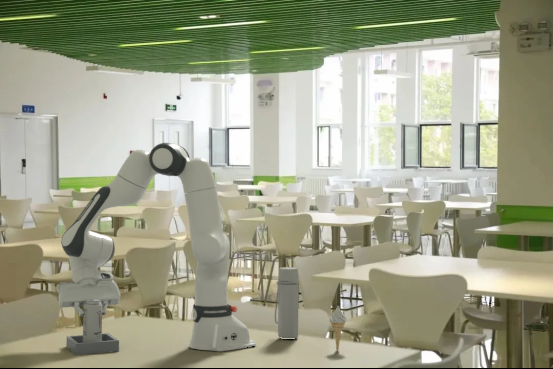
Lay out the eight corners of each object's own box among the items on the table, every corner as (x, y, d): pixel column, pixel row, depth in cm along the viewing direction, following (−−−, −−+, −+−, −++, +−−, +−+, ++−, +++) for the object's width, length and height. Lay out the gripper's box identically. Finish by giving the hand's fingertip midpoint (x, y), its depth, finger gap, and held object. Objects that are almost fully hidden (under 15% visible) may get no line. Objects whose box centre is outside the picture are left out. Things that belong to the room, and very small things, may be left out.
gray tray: (108, 343, 272) (108, 333, 272) (118, 351, 260) (118, 340, 260) (66, 346, 266) (66, 336, 266) (75, 354, 254) (75, 343, 254)
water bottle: (302, 337, 286) (303, 267, 286) (291, 341, 279) (291, 269, 279) (280, 335, 290) (281, 266, 290) (269, 338, 284) (269, 268, 284)
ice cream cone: (336, 348, 268) (337, 303, 268) (349, 350, 264) (349, 305, 264) (325, 350, 264) (326, 305, 264) (338, 353, 260) (338, 307, 260)
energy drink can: (98, 347, 260) (99, 301, 260) (80, 347, 260) (81, 301, 260) (103, 343, 266) (104, 298, 266) (85, 343, 266) (86, 298, 266)
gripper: (56, 276, 265) (62, 310, 256) (117, 274, 274) (124, 307, 265) (54, 288, 269) (59, 322, 260) (113, 285, 278) (121, 318, 269)
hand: (92, 314), depth 263 cm, fingers closed on energy drink can, 6 cm apart
